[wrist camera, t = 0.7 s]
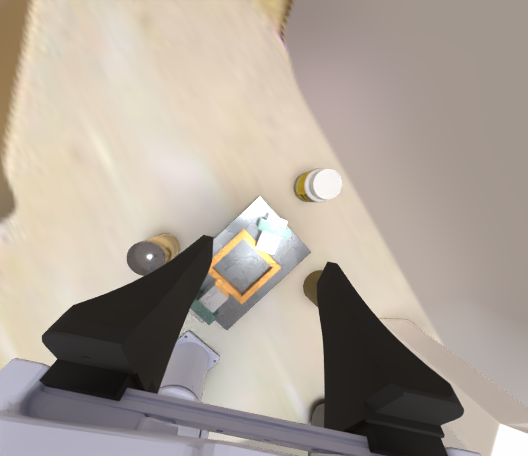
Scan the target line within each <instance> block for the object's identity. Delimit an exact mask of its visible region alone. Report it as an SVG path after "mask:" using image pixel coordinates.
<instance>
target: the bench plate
mask: <svg viewBox="0 0 528 456" xmlns="http://www.w3.org/2000/svg"><path fill="white" fill-rule="evenodd" d="M287 222H288V221H286V220H284V219H281V218H279V217H278V215H277V214H276V213H275V212H274V211H273V210H272V209H271V208H270V207H269V206H268V205H267V203H266V202H265V201H264V200H263V199H262V198H261V197H260V196H259V197H258V198H257V199H256V200H255V201H254V202H253V203H252V204H251V205H250V206H248V207H247V208H246V209H245V210H244V211H243V212H242V213H241V214H240V215H239V216H238V217H237V218H236V219H235V220H234V221H233V222H231V223H230V224H229V225H228V226H227V227H226V228H225V229H224V230H223V231H222V232H221V233H220V234H219V235H218V236H217V237H216V238H214V239H213V259H212V263H211V266H210V269H209V271H208V274H207V276H206V278H205V280H204V282H203V284H202V286H201V288H200V290H199V292H198V294H197V296H196V298H195V300H194V301H193V303H192V305H191V307H190V309H189V312H190V313H191V314H192V315H194V316H195V317H196V318H197V319H198V320H199V321H201V322H202V323H203V322H204V321H205V322H206V323H207V324H208V325H210V324H211V323H212V322H213V321H214V320H216V321H217V322H218V323H219V324H220V325H221V326H222V327H224V328H225V329H226V330H228V329H229V328H230V327H231V326H232V325H233V324H234V323H235V322H236V321H238V320H239V319H240V318H241V317H242V316H243V315H244V314H245V313H246V312H247V311H248V310H249V309H250V308H252V307H253V306H254V305H255V304H256V303H257V302H258V301H259V300H260V299H261V298H262V297H263V296H264V295H266V294H267V293H268V292H269V291H270V290H271V289H272V288H273V287H274V286H275V285H276V284H277V283H278V282H280V281H281V280H282V279H283V278H284V277H285V276H286V275H287V274H288V273H289V272H290V271H291V270H292V269H294V268H295V267H296V266H297V265H298V264H299V263H300V262H301V261H302V260H303V259H304V258H305V257H306V256H308V255H309V254H310V253H311V252H310V251H309V249H308V248H307V247H306V246H305V245H304V244H303V243H302V242H301V241H300V240H299V238H298V237H297V236H296V235H295V234H294V233H293V232H292V231H291V230H290V229H289V228H288V226H287Z"/></svg>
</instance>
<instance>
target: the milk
mask: <svg viewBox="0 0 528 456" xmlns="http://www.w3.org/2000/svg"><path fill="white" fill-rule="evenodd" d="M379 320H380V321H381V322H382V323H383V324H384V325H385V326H386V328H387V329H388V330H389V331H390V332H391V333H392V334H393V335H394V336H395V337H396V338H397V339H398V340H399V341H400V342H402V343H403V344H404V345H405V346H406V347H407V348H408V349H409V350H410V351H411V352H412V353H414V354H415V355H416V356H417V357H418V358H419V359H420V360H422V361H423V362H424V363H425V364H426V365H428V366H429V367H430V368H431V369H433V370H434V371H435V372H436V373H437V374H439V375H440V376H441V377H442V378H444V379H445V380H446V381H447V382H449V383H450V384H451V386H452V388H453V390H454V392H455V393H456V395H457V397H458V399H459V401H460V403H461V405H462V406H463V408H464V414H463V415H462V416H461V417H460V418H458V419H456V420H453V421H451V422H448V423H445V424H446V425H447V427H448V428H449V429H450V430H451V431H452V432H453V433H454V434H455V436H456V437H457V438H458V439H459V440H460V441H461V442H462V443H463V444H464V445H465V447H466V448H467V449H468V450H469V451H473V452H478V453H480V454H481V455H482V456H528V407H526V406H525V405H524V404H522V403H521V402H519V401H518V400H517V399H515V398H514V397H513V396H511V395H510V394H508V393H507V392H506V391H504V390H503V389H502V388H500V387H499V386H497V385H496V384H495V383H493V382H492V381H491V380H489V379H488V378H487V377H485V376H484V375H482V374H481V373H479V372H478V371H477V370H475V369H474V368H472V367H471V366H470V365H469V364H467V363H466V362H465V361H463V360H462V359H460V358H459V357H458V356H456V355H455V354H453V353H452V352H451V351H449V350H448V349H447V348H445V347H444V346H443V345H441V344H440V343H438V342H437V341H436V340H434V339H433V338H432V337H430V336H429V335H427V334H426V333H425V332H423V331H422V330H421V329H419V328H418V327H417V326H415V325H414V324H412V323H411V322H410V321H408V320H407V319H379Z"/></svg>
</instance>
